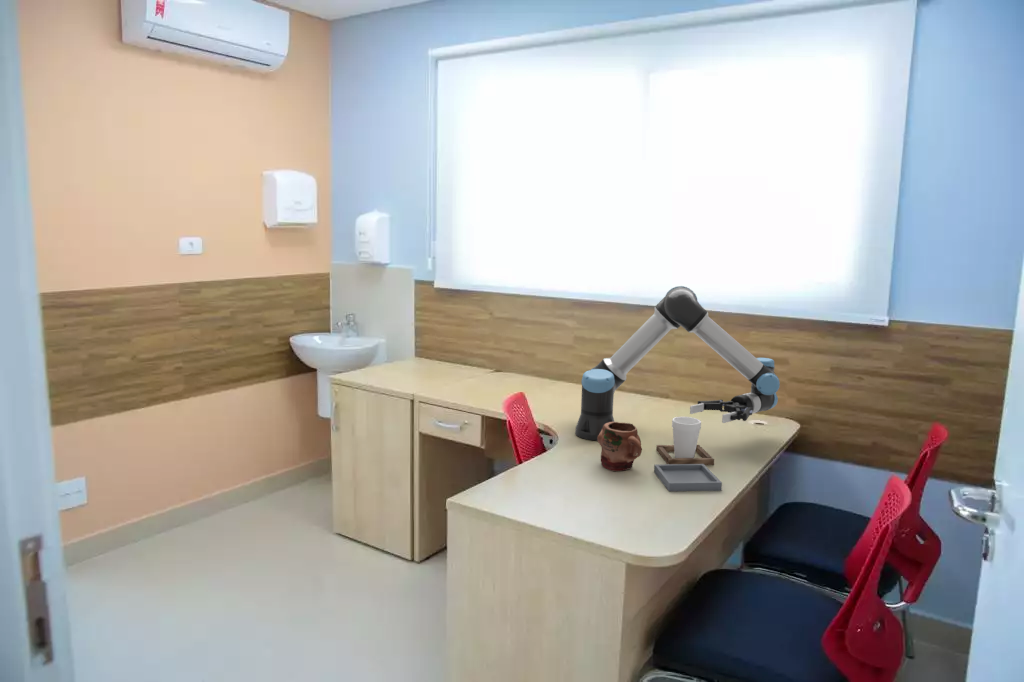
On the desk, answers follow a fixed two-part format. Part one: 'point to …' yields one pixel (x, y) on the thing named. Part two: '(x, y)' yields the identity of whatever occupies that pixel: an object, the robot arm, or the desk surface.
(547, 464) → the desk surface
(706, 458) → the walnut collar
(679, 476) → the charcoal tray
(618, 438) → the sculpted ceramic mug
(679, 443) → the foam cup
